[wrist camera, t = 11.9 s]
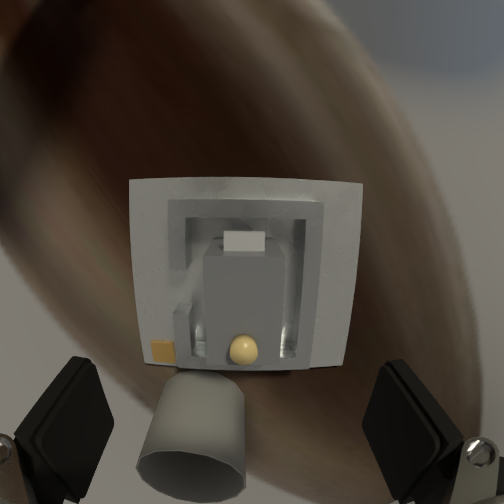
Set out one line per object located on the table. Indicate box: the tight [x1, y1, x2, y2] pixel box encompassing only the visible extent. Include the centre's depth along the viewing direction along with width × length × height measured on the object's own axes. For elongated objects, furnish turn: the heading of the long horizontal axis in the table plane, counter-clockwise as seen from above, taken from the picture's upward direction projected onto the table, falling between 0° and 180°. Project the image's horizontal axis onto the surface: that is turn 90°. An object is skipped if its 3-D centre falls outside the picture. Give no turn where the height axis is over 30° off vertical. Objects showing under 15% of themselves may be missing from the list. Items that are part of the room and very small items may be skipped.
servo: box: [203, 231, 286, 367], centre depth 19 cm, size 9×4×7 cm, turn 179°
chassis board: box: [129, 177, 363, 370], centre depth 22 cm, size 16×18×3 cm
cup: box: [136, 369, 246, 503], centre depth 21 cm, size 8×8×10 cm
